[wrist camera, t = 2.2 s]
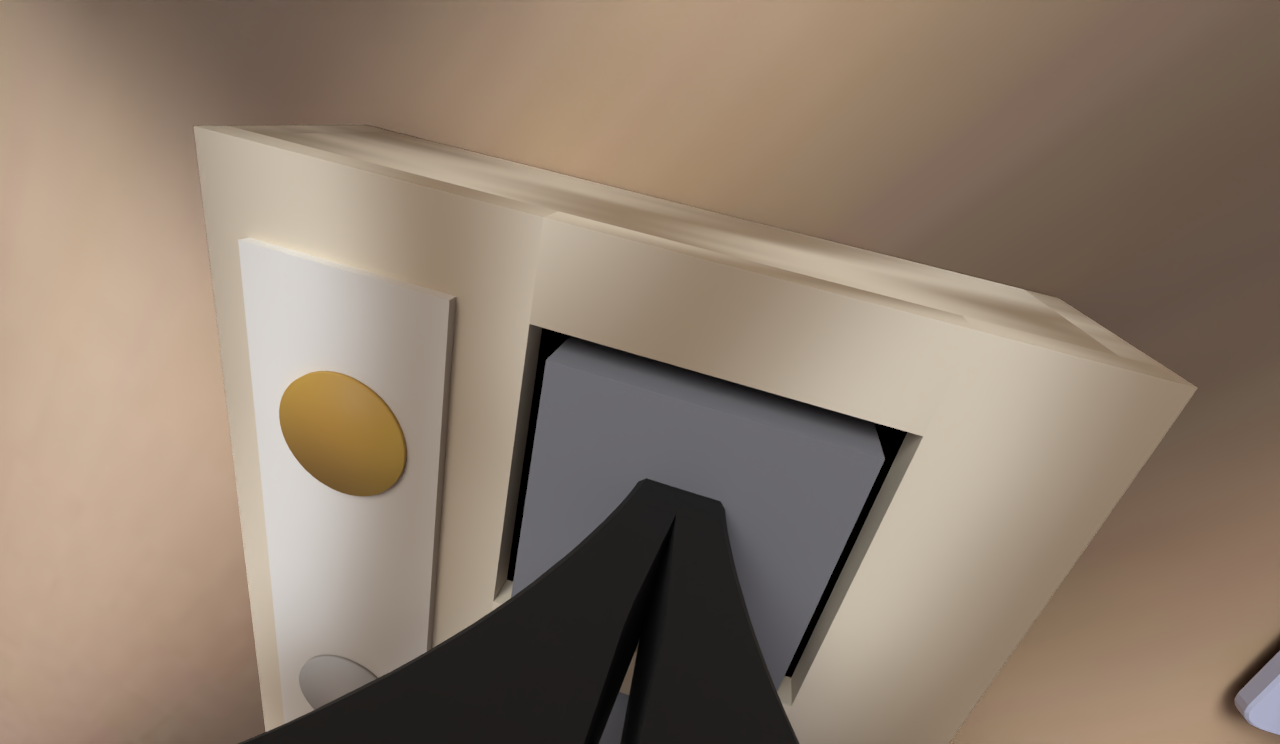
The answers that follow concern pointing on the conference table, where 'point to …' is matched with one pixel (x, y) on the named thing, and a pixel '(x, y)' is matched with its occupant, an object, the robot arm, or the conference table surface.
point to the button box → (650, 327)
